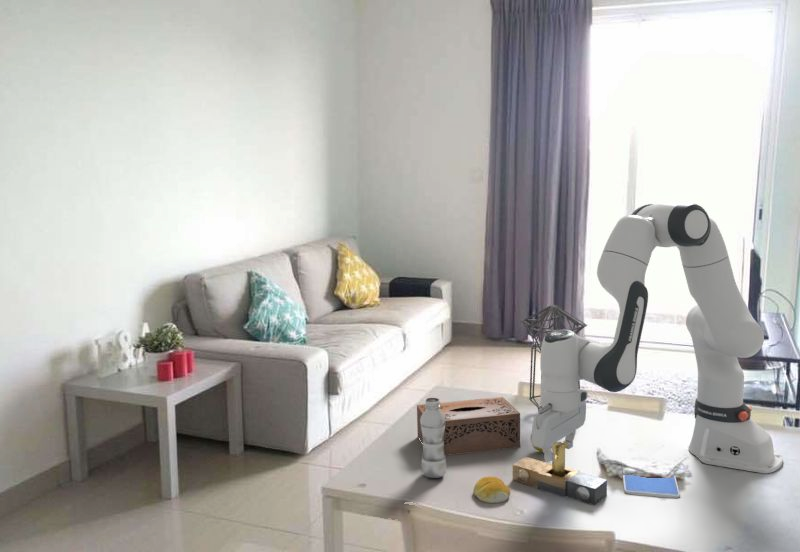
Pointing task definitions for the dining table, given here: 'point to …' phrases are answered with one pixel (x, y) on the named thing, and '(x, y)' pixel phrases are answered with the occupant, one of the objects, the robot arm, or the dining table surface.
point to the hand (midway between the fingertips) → (558, 453)
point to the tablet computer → (651, 486)
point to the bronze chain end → (539, 473)
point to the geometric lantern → (547, 313)
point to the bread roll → (491, 490)
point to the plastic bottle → (433, 439)
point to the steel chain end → (580, 488)
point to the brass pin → (558, 459)
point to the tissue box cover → (477, 425)
